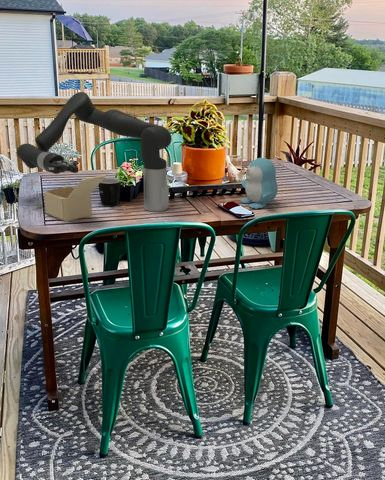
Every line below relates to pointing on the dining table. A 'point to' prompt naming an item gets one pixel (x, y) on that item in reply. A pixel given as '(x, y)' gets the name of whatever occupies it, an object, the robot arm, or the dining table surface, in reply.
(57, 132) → the robot arm
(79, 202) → the carton
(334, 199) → the dining table surface
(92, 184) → the front flap
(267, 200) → the toy
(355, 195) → the dining table surface
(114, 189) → the mug
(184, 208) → the dining table surface
